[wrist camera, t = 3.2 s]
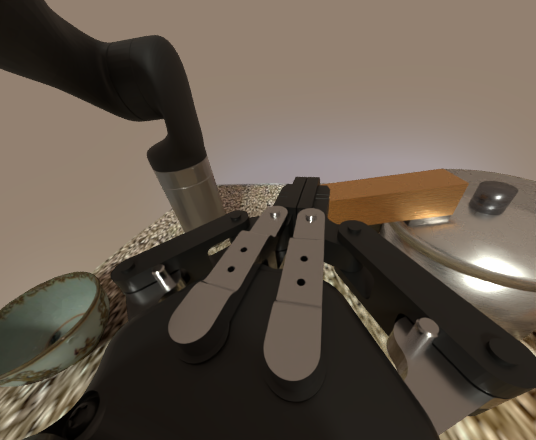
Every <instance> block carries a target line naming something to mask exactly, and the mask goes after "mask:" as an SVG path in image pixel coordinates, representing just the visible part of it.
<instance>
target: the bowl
mask: <svg viewBox="0 0 536 440" xmlns="http://www.w3.org/2000/svg"><path fill="white" fill-rule="evenodd" d="M109 310H110V307H109V300H108V297H107V294H106V293H105V291H104V289H103V288H102V286H101V285H100V281H99V279H98V278H97V277H96V276H95V275H93V274H91V273H88V272H73V273H69V274H65V275H62V276H58V277H55V278H53V279H51V280H48V281H46V282H44V283H42V284H39V285H37V286H36V287H34V288H32V289H30V290H28V291H27V292H25V293H24V294H22V295H20V296H19V297H18V298H16V299H15V300H13V301H11V302H10V303H9V304H7V305H6V306H5V307H3V308H2V309H1V310H0V386H24V385H28V384H32V383H35V382H39V381H42V380H44V379H47V378H49V377H52V376H54V375H56V374H58V373H60V372H62V371H63V370H65V369H67V368H68V367H70V366H71V365H74V364H76V363H77V362H79V361H81V360H82V359H84V358H85V357H86V356H87V355H88V354H89V353H90V352H91V351H92V350H93V349H94V348H95V346H96V345H97V344H98V342H99V340H100V339H101V336H102V333H103V331H104V329H105V327H106V325H107V322H108V317H109Z"/></svg>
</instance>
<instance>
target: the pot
mask: <svg viewBox="0 0 536 440" xmlns="http://www.w3.org/2000/svg"><path fill="white" fill-rule="evenodd" d="M368 226H369V227H371V228H372V229H373V230H375V231H376V232H377V233H379V232H380V233H379V234H380V235H381V236H382V237H384V238H385V239H386V240H388V241H389V242H390V243H392V244H393V245H394V246H396V247H397V248H398V249H399V250H401V251H402V252H403V253H405V254H406V255H407V256H409V257H410V258H411V259H413V260H414V261H415V262H416V263H418V264H419V265H420V266H422V267H423V268H424V269H426V270H427V271H428V272H430V273H431V274H432V275H433V276H435V277H436V278H437V279H439V280H440V281H441V282H443V283H444V284H445V285H447V286H448V287H449V288H451V289H452V290H453V291H454V292H456V293H457V294H458V295H460V296H461V297H462V298H464V299H465V300H466V301H468V302H469V303H470V304H471V305H473V306H474V307H475V308H477V309H478V310H479V311H481V312H482V313H483V314H485V315H486V316H487V317H488V318H490V319H491V320H492V321H494V322H495V323H496V324H498V325H499V326H500V327H502V328H503V329H504V330H506V331H507V332H508V333H509V334H511V335H512V336H513V337H515V338H516V339H517V340H519V341H520V340H522V339H523V338H525V337H526V336H528V335H529V334H530V333H532V332H533V331H535V330H536V292H528V291H522V290H517V289H513V288H508V287H503V286H500V285H496V284H493V283H489V282H485V281H482V280H479V279H476V278H473V277H471V276H468V275H465V274H462V273H460V272H458V271H455V270H453V269H451V268H448V267H446V266H444V265H442V264H440V263H438V262H436V261H434V260H432V259H430V258H429V257H427V256H425V255H424V254H422V253H420V252H419V251H417V250H416V249H414V248H413V247H412V246H410V245H409V244H408V243H406V242H405V241H404V240H403V239H402V238H401V237H399V236H398V234H397V233H396V232H395V231H394V230H393V229H392V228H391V226H390V225H389V223H381V224H373V225H368Z"/></svg>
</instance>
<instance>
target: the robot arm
mask: <svg viewBox="0 0 536 440" xmlns="http://www.w3.org/2000/svg"><path fill="white" fill-rule="evenodd" d="M0 69H3V70H5V71H8V72H11V73H14V74H17V75H20V76H23V77H26V78H29V79H32V80H35V81H38V82H41V83H44V84H46V85H49V86H52V87H55V88H57V89H60V90H62V91H64V92H67V93H69V94H71V95H73V96H75V97H78V98H80V99H82V100H84V101H86V102H88V103H91V104H93V105H95V106H97V107H99V108H101V109H103V110H105V111H107V112H110V113H112V114H114V115H116V116H119V117H121V118H124V119H127V120H131V121H138V122H140V121H151V120H158V119H164V120H165V123H166V127H167V132H168V134H167V136H166V138H165V139H164V140H162V141H160V142H158V143H157V144H155V145H154V146H152V147H151V148H150V149H149V150H148V151H147V158H148V160H149V162H150V165H151V166H152V168H153V170H154V172H155V174H156V176H157V178H158V180H159V182H160V184H161V186H162V188H163V190H164V192H165V194H166V196H167V198H168V200H169V202H170V204H171V206H172V208H173V210H174V212H175V214H176V216H177V218H178V220H179V222H180V224H181V226H182V228H183V230H184V232H185V233H184V234H182V235H180V236H177V237H175V238H173V239H171V240H169V241H166V242H164V243H162V244H160V245H158V246H155V247H153V248H151V249H149V250H147V251H144V252H142V253H140V254H138V255H136V256H133V257H131V258H129V259H127V260H125V261H123V262H121V263H120V264H119V265H118V266H116V267H115V269H114V270H113V271H112V273H111V279H112V280H113V281H114V282H115V283H116V284H117V286H118V287H119V288H120V289H121V291H122V292H123V293H124V294H125V296H126V304H127V314H128V322H127V323H126V324H125V325H124V326H122V327H121V328H120V330H119V331H118V332H117V333H116V334H115V335H114V337H113V338H112V340H111V341H110V343H109V344H108V346H107V348H106V350H105V353H104V355H103V358H102V360H101V363H100V365H99V367H98V369H97V372H96V374H95V375H94V377H93V379H92V381H91V383H90V384H89V386H88V388H87V389H86V391H85V393H84V394H83V396H82V397H81V398H80V399H79V401H78V402H77V403H76V404H75V405H74V407H73V408H72V409H71V410H70V411H69V412H68V413H66V414H65V415H64V416H63V417H62V418H60V419H59V420H58V421H56V422H55V423H54V424H52V425H51V426H49V427H48V428H46V429H44V430H43V431H41V432H39V433H38V434H36V435H32V436H30V437H27V438H25V439H23V440H440V438H439V435H440V434H441V433H443V432H444V431H446V430H447V429H449V428H450V427H452V426H453V425H455V424H456V423H458V422H459V421H461V420H462V419H464V418H465V417H466V416H475V415H478V414H480V413H483V412H485V411H487V410H489V409H491V408H493V407H495V406H498V405H500V404H502V403H504V402H506V401H508V400H511V399H513V398H515V397H517V396H519V395H521V394H523V393H526V392H528V391H530V390H532V389H534V388H536V357H535V355H534V354H533V353H532V352H531V351H530V350H529V349H528V348H527V347H526V346H525V345H524V344H522V343H521V342H520V341H519V340H517V339H516V338H515V337H513V336H512V335H511V334H509V333H508V332H507V331H506V330H504V329H503V328H502V327H500V326H499V325H498V324H496V323H495V322H494V321H492V320H491V319H490V318H488V317H487V316H486V315H485V314H483V313H482V312H481V311H479V310H478V309H477V308H475V307H474V306H473V305H471V304H470V303H469V302H468V301H466V300H465V299H464V298H462V297H461V296H460V295H458V294H457V293H456V292H454V291H453V290H452V289H451V288H449V287H448V286H447V285H445V284H444V283H443V282H441V281H440V280H439V279H437V278H436V277H435V276H433V275H432V274H431V273H430V272H428V271H427V270H426V269H424V268H423V267H422V266H420V265H419V264H418V263H416V262H415V261H414V260H413V259H411V258H410V257H409V256H407V255H406V254H405V253H403V252H402V251H401V250H399V249H398V248H397V247H396V246H394V245H393V244H392V243H390V242H389V241H388V240H386V239H385V238H384V237H382V236H381V235H380V234H379V233H377V232H376V231H375V230H373V229H372V228H371V227H369V226H368V225H367V224H365V223H363V222H361V221H357V220H347V221H344V222H342V223H341V224H340V225H339V224H336V223H334V222H332V221H330V220H329V219H328V213H329V201H330V189H329V187H328V186H327V185H320V178H319V177H308V178H307V177H296V178H295V180H294V182H293V184H287V185H286V186H284V187H283V188H282V190H281V191H280V193H279V195H278V197H277V199H276V201H275V203H274V205H273V206H272V207H269V208H267V209H265V210H264V211H263V213H262V214H261V216H258V217H251V218H249V216H248V213H247V212H245V211H242V210H237V211H233V212H230V213H228V214H225V211H224V207H223V204H222V201H221V198H220V195H219V192H218V188H217V185H216V182H215V179H214V176H213V173H212V170H211V167H210V163H209V160H208V157H207V154H206V150H205V147H204V142H203V137H202V132H201V128H200V125H199V121H198V117H197V114H196V110H195V106H194V102H193V98H192V94H191V90H190V86H189V82H188V79H187V76H186V73H185V70H184V67H183V64H182V62H181V60H180V58H179V55H178V54H177V52H176V50H175V49H174V47H173V46H172V45H171V44H170V42H169V41H168V40H166V39H165V38H163V37H161V36H158V35H152V36H144V37H139V38H133V39H128V40H123V41H117V42H112V43H106V42H101V41H99V40H96V39H94V38H92V37H90V36H88V35H87V34H85V33H83V32H82V31H80V30H78V29H77V28H76V27H74V26H73V25H71V24H70V23H68V22H67V21H65V20H64V19H63V18H61V17H60V16H59V15H57V14H56V13H55V12H54V11H53V10H52V9H50V7H49V6H48V5H47V4H46V2H45V1H44V0H0ZM228 238H229V239H230V242H231V245H230V246H228V247H226V248H224V249H223V250H221V251H219V252H217V253H215V254H213V255H211V256H208V250H209V249H210V248H212V247H215V246H217V245H219V244H220V243H222V242H223V241H225V240H226V239H228ZM323 262H325V263H327V264H330V265H332V266H334V269H335V272H336V273H337V274H338V276H339V277H340V278H341V279H342V280H343V282H344V283H345V284H346V285H347V286H348V288H349V289H350V290H351V291H352V293H353V294H354V295H355V296H356V297H357V299H358V300H359V301H360V302H361V303H362V305H363V306H364V307H365V308H366V310H367V311H368V312H369V313H370V314H371V316H372V317H373V318H374V319H375V320H376V322H377V323H378V324H379V325H380V327H381V328H382V329H383V330H384V331H385V333H386V334H387V335H388V336H389V337H388V339H387V351H388V354H389V356H390V358H391V359H392V361H393V363H394V364H395V367H396V369H397V370H396V369H395V368H394V366H393V365H392V363H391V362H390V361H389V359H388V358H387V356H386V355H385V354H384V352H383V351H382V349H381V348H380V347H379V345H378V344H377V342H376V341H375V340H374V338H373V337H372V335H371V334H370V333H369V331H368V330H367V328H366V327H365V326H364V324H363V323H362V321H361V320H360V319H359V317H358V316H357V314H356V313H355V312H354V310H353V309H352V307H351V306H350V305H349V303H348V302H347V300H346V299H345V298H344V296H343V295H342V294H341V293H340V292H339V291H338V290H337V289H336V288H335V287H333V286H332V285H331V284H329V283H328V282H326V281H324V280H323Z"/></svg>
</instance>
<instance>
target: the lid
mask: <svg viewBox="0 0 536 440" xmlns="http://www.w3.org/2000/svg"><path fill="white" fill-rule="evenodd" d="M322 185H327V186H328V187H329V189H330V201H329V213H328V219H329V220H330V221H332V222H334V223H336V224H339V225H340V224H341V223H342V222H344V221H347V220H357V221H361V222H363V223H365V224H367V225H373V224H381V223H389V225H390V226H391V228H392V229H393V230H394V231H395V232H396V233H397V234H398V236H399V237H401V238H402V239H403V240H404V241H405V242H406V243H408V244H409V245H410V246H412V247H413V248H414V249H416V250H417V251H419V252H420V253H422V254H424V255H425V256H427V257H429V258H430V259H432V260H434V261H436V262H438V263H440V264H442V265H444V266H446V267H448V268H451V269H453V270H455V271H458V272H460V273H462V274H465V275H468V276H471V277H473V278H476V279H479V280H482V281H485V282H489V283H493V284H496V285H500V286H503V287H508V288H513V289H517V290H522V291H528V292H536V181H532V180H528V179H524V178H520V177H515V176H511V175H505V174H499V173H493V172H485V171H477V170H462V169H436V170H428V171H421V172H414V173H406V174H399V175H391V176H383V177H375V178H368V179H360V180H353V181H345V182H337V183H330V184H322Z"/></svg>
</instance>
